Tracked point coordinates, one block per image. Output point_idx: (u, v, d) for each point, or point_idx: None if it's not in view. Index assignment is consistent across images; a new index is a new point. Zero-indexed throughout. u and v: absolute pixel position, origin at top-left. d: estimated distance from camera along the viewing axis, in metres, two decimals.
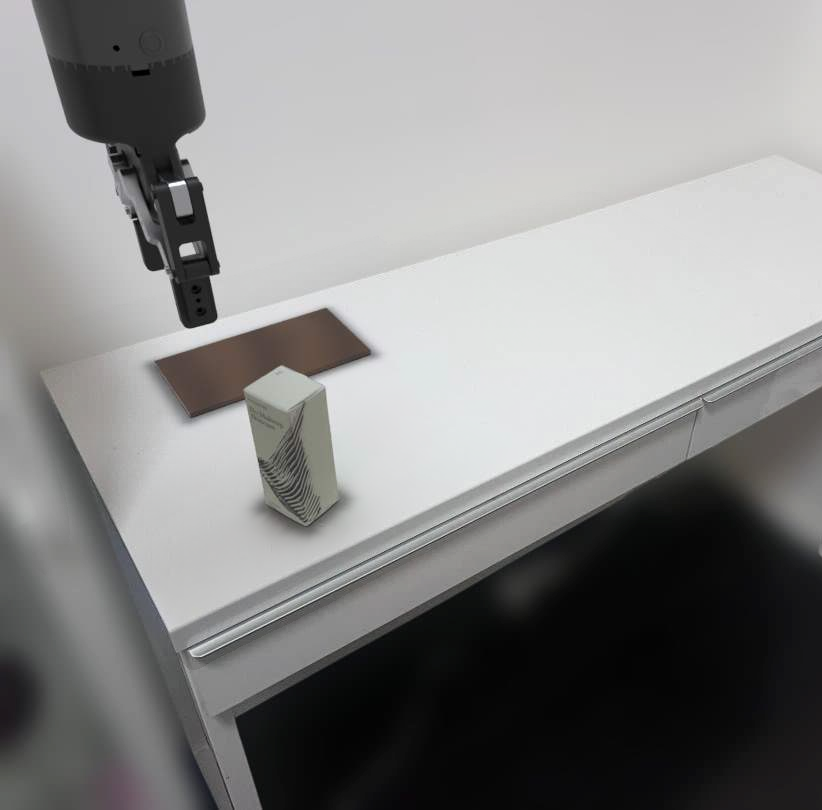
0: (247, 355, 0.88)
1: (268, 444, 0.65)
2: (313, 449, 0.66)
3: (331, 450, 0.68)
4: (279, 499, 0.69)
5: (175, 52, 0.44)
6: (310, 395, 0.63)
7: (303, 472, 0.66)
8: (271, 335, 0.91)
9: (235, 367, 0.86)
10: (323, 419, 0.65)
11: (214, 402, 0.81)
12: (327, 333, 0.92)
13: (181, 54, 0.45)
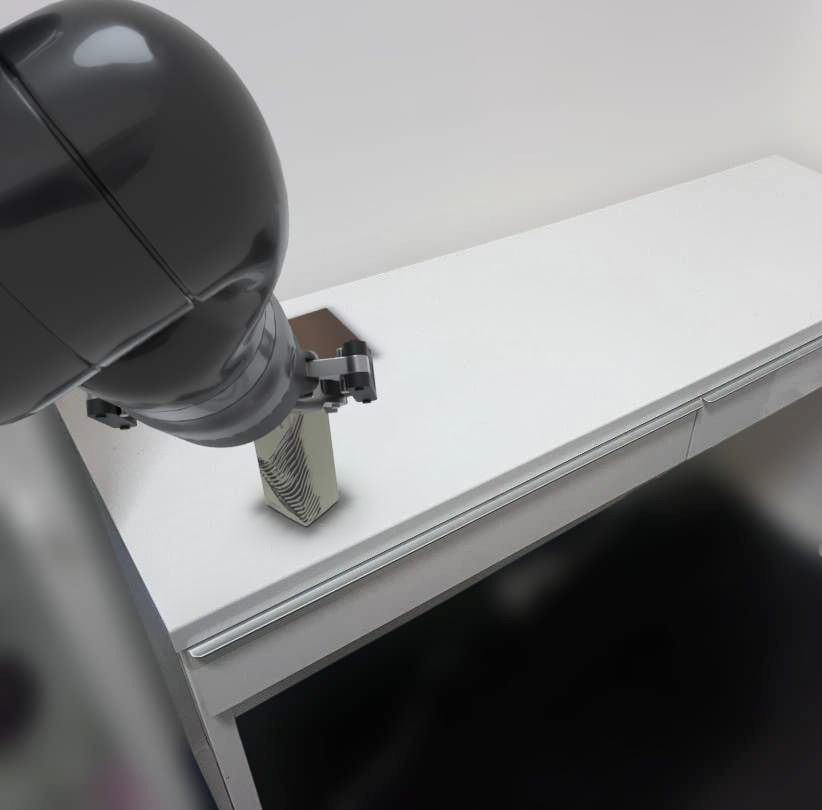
0: None
1: (268, 444, 0.65)
2: (313, 449, 0.66)
3: (331, 450, 0.68)
4: (279, 499, 0.69)
5: None
6: None
7: (303, 472, 0.66)
8: None
9: None
10: (323, 419, 0.65)
11: None
12: (327, 333, 0.92)
13: None
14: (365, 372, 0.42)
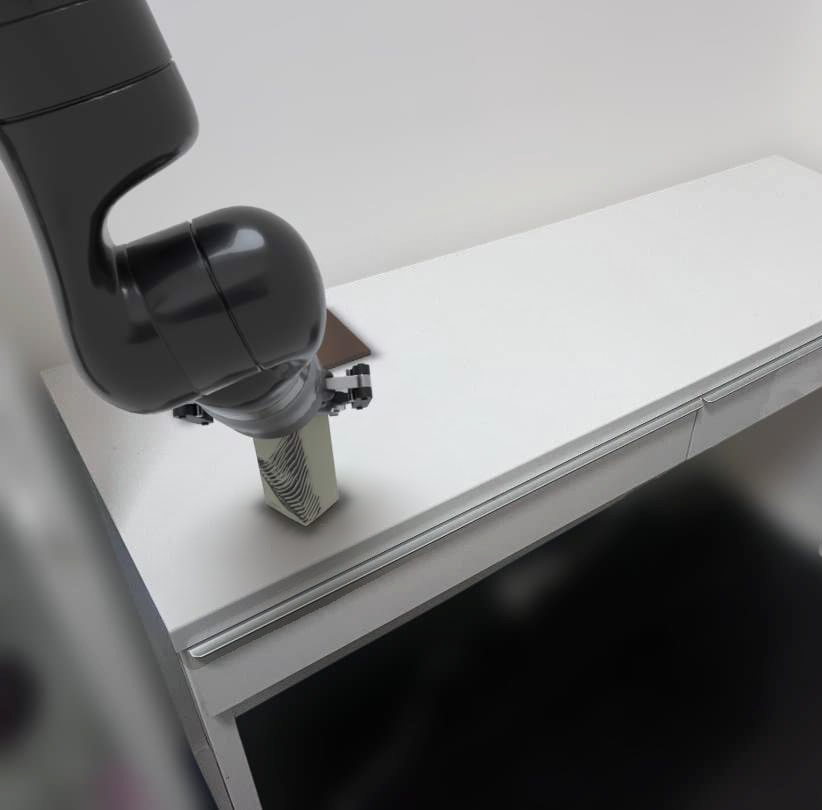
0: None
1: (268, 443, 0.65)
2: (312, 449, 0.66)
3: (331, 450, 0.68)
4: (279, 499, 0.69)
5: None
6: None
7: (303, 472, 0.66)
8: None
9: None
10: (323, 419, 0.65)
11: None
12: (327, 333, 0.92)
13: None
14: (369, 387, 0.58)
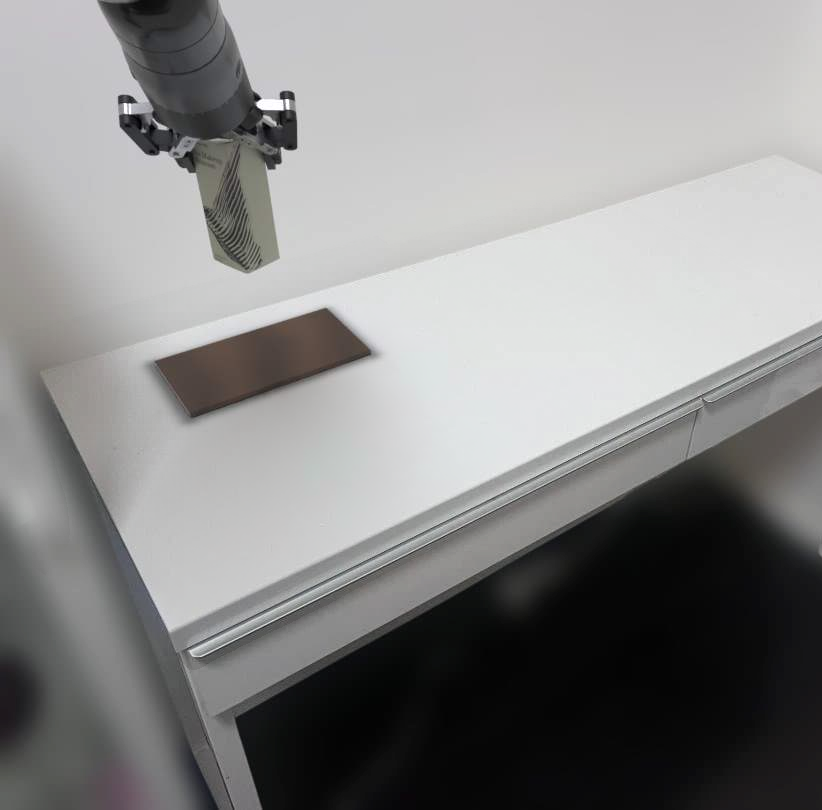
0: (247, 355, 0.88)
1: (211, 187, 0.73)
2: (251, 194, 0.74)
3: (269, 202, 0.76)
4: (224, 249, 0.77)
5: (144, 91, 0.58)
6: None
7: (242, 214, 0.74)
8: (271, 335, 0.91)
9: (235, 367, 0.86)
10: (260, 166, 0.73)
11: (214, 402, 0.81)
12: (327, 333, 0.92)
13: (149, 97, 0.58)
14: (294, 111, 0.66)
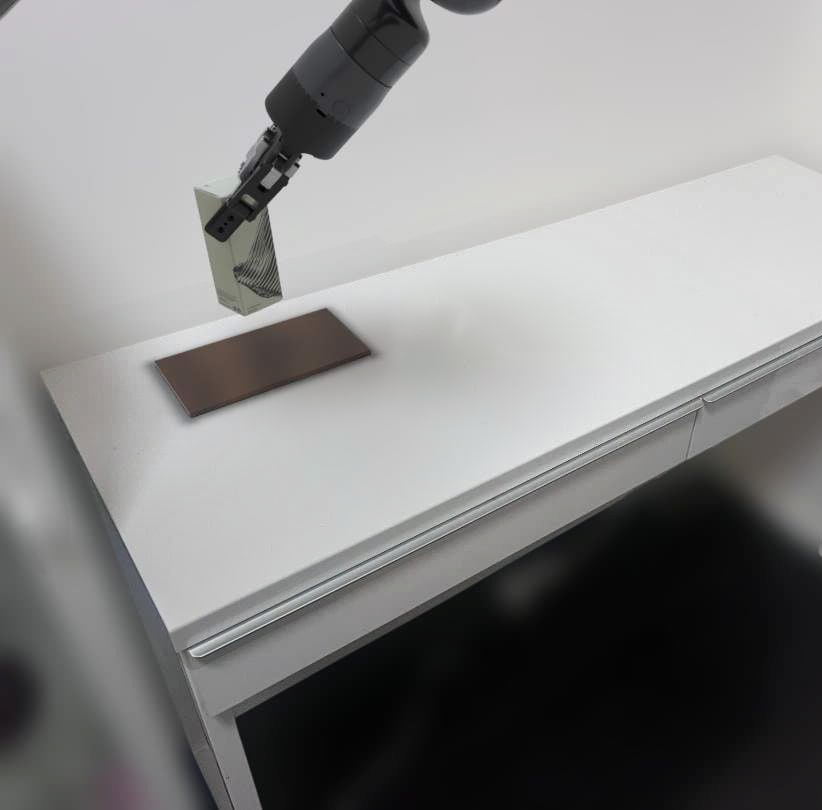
0: (247, 355, 0.88)
1: (248, 237, 0.78)
2: None
3: None
4: (259, 293, 0.81)
5: (346, 122, 0.71)
6: None
7: None
8: (271, 335, 0.91)
9: (235, 367, 0.86)
10: None
11: (214, 402, 0.81)
12: (327, 333, 0.92)
13: (348, 125, 0.72)
14: None
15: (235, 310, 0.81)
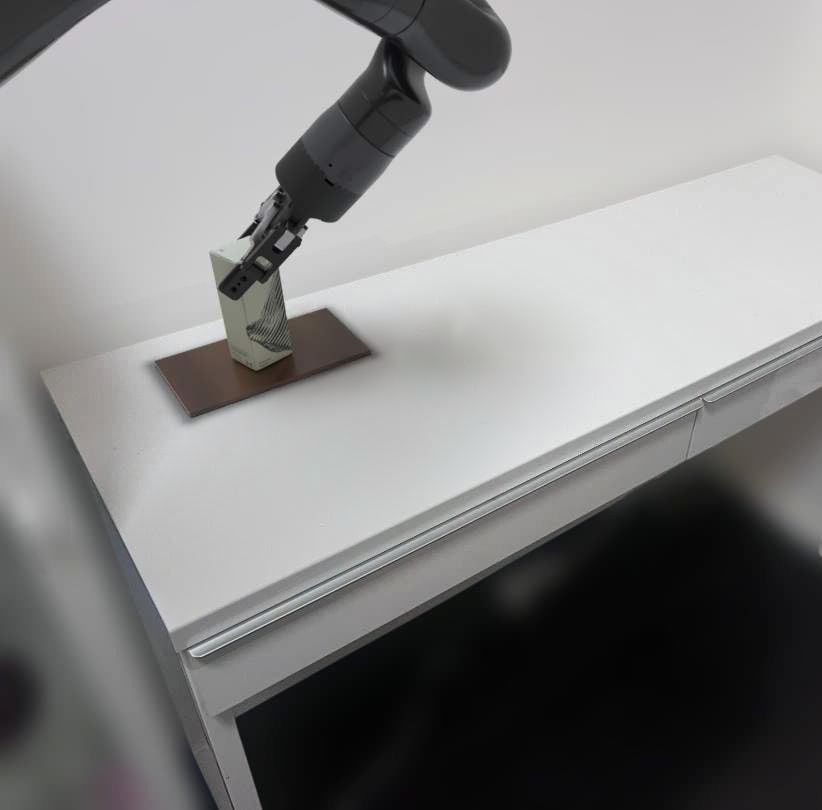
0: None
1: (260, 297, 0.82)
2: None
3: None
4: (270, 348, 0.85)
5: (352, 189, 0.75)
6: None
7: None
8: None
9: (235, 367, 0.86)
10: None
11: (214, 402, 0.81)
12: (327, 333, 0.92)
13: (354, 192, 0.75)
14: None
15: (247, 364, 0.85)
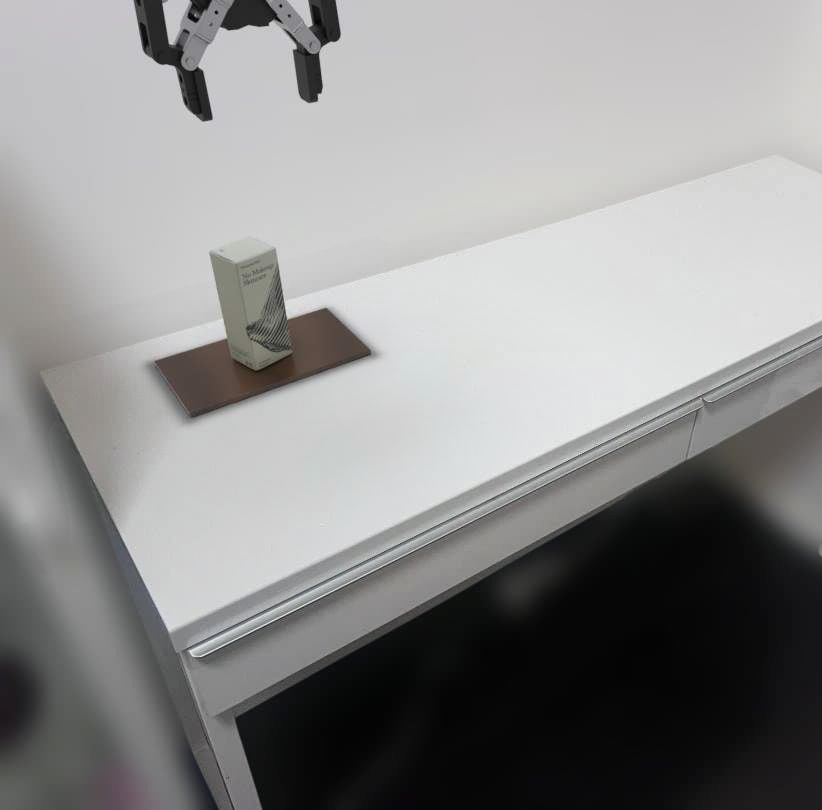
0: None
1: (260, 297, 0.82)
2: None
3: None
4: (270, 348, 0.85)
5: None
6: (259, 240, 0.82)
7: None
8: None
9: (235, 367, 0.86)
10: None
11: (214, 402, 0.81)
12: (327, 333, 0.92)
13: None
14: None
15: (247, 364, 0.85)
